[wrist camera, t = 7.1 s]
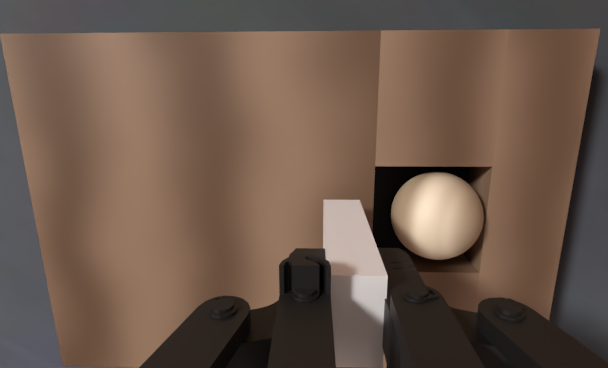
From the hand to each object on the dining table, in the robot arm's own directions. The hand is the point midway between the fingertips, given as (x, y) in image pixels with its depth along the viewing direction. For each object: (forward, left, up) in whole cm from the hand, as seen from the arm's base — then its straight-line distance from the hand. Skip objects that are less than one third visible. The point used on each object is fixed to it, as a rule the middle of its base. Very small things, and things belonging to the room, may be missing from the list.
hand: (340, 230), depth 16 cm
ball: (+4, 0, -2) cm, 5 cm away
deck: (-2, 0, -4) cm, 4 cm away
